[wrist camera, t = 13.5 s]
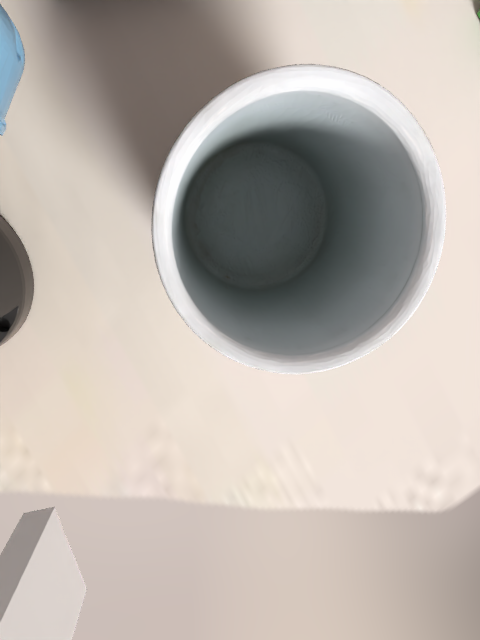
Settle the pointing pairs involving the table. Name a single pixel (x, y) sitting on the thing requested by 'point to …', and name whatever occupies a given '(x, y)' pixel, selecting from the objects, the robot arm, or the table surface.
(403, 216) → the utensil holder
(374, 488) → the table surface
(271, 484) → the table surface
